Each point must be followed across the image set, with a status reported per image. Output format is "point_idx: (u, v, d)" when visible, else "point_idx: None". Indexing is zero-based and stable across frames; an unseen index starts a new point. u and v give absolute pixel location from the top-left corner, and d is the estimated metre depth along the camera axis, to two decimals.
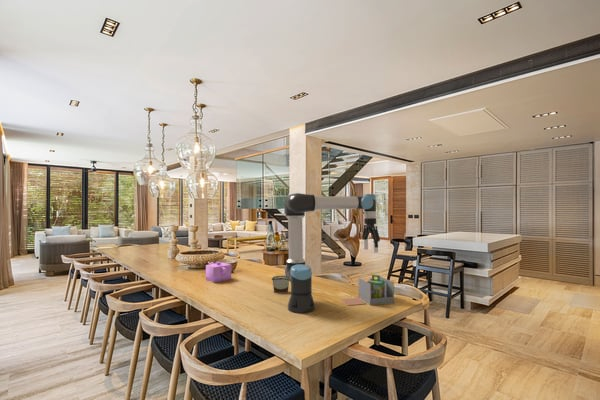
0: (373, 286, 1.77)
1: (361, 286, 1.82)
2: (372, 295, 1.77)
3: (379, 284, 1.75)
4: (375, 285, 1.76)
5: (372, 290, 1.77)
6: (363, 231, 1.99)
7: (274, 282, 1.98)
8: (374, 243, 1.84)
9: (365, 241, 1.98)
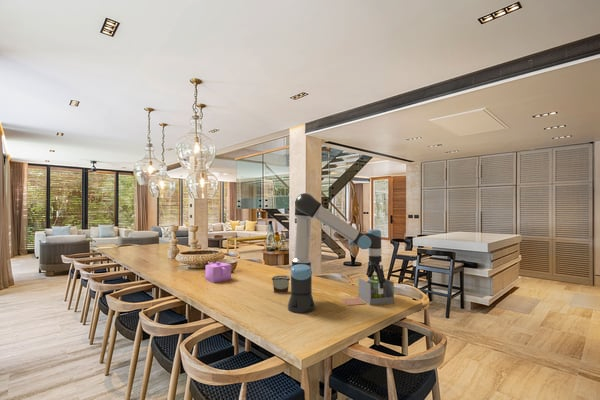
0: (373, 286, 1.77)
1: (361, 286, 1.82)
2: (372, 295, 1.77)
3: None
4: (375, 285, 1.76)
5: (372, 290, 1.77)
6: None
7: (274, 282, 1.98)
8: (379, 284, 1.74)
9: None
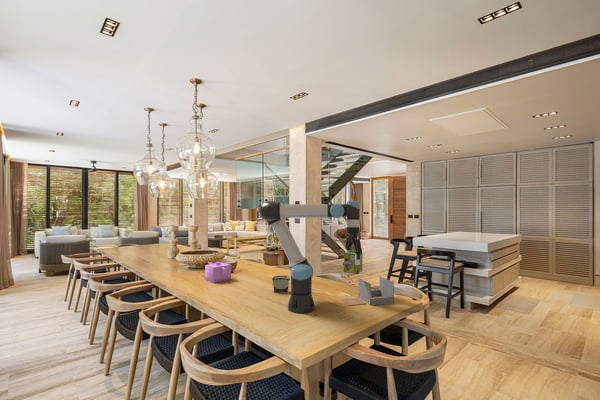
0: (350, 258, 1.74)
1: (361, 286, 1.82)
2: (349, 267, 1.74)
3: None
4: (352, 257, 1.74)
5: (349, 261, 1.74)
6: (346, 241, 1.85)
7: (274, 282, 1.98)
8: (356, 255, 1.71)
9: None
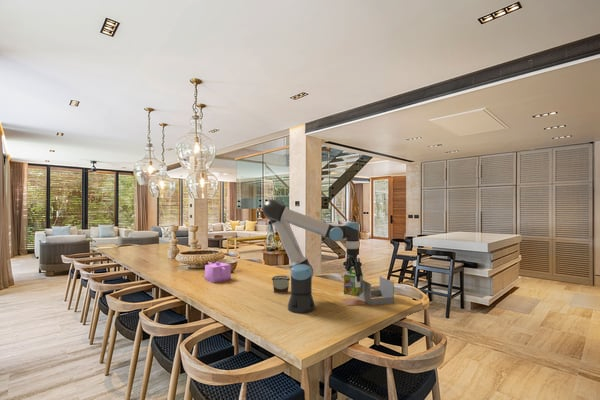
0: (350, 280, 1.74)
1: None
2: (349, 289, 1.74)
3: None
4: (352, 279, 1.73)
5: (349, 283, 1.74)
6: (346, 261, 1.84)
7: (274, 282, 1.98)
8: (356, 277, 1.70)
9: None
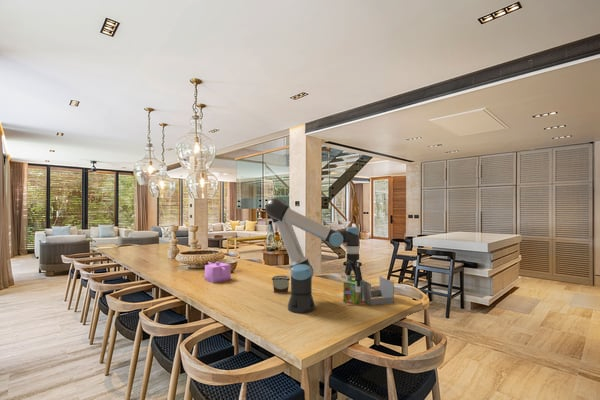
0: (350, 287, 1.74)
1: None
2: (349, 296, 1.74)
3: None
4: (351, 286, 1.73)
5: (349, 291, 1.74)
6: (346, 266, 1.84)
7: (274, 282, 1.98)
8: (356, 282, 1.70)
9: (348, 277, 1.84)
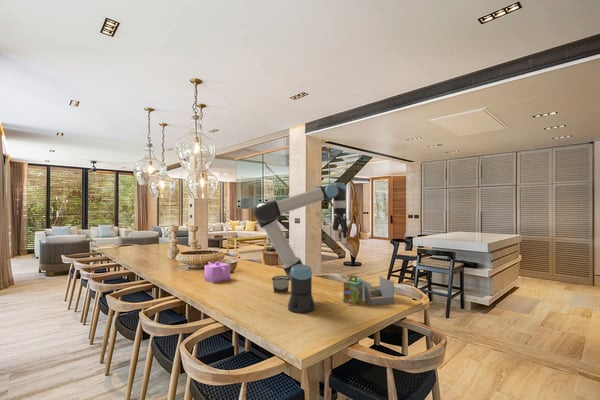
0: (350, 287, 1.74)
1: None
2: (349, 296, 1.74)
3: (356, 285, 1.72)
4: (351, 286, 1.73)
5: (349, 291, 1.74)
6: None
7: (274, 282, 1.98)
8: (342, 233, 1.78)
9: (335, 232, 1.92)
